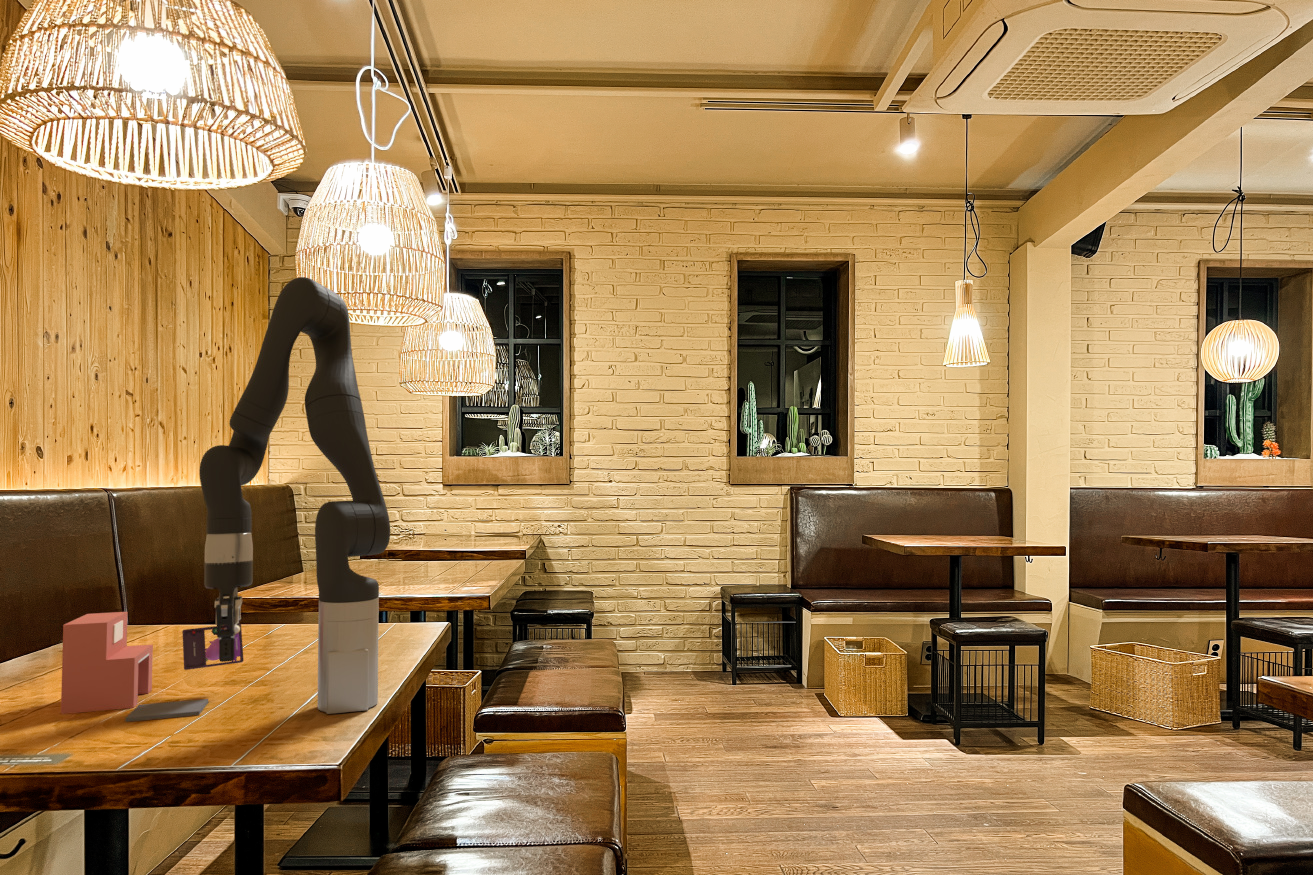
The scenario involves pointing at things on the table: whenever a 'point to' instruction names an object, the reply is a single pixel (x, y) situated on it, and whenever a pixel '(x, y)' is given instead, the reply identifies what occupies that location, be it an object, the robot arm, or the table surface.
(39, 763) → the table surface
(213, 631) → the boxed purple toy
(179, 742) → the table surface
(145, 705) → the mat
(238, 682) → the table surface
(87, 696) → the dispenser
